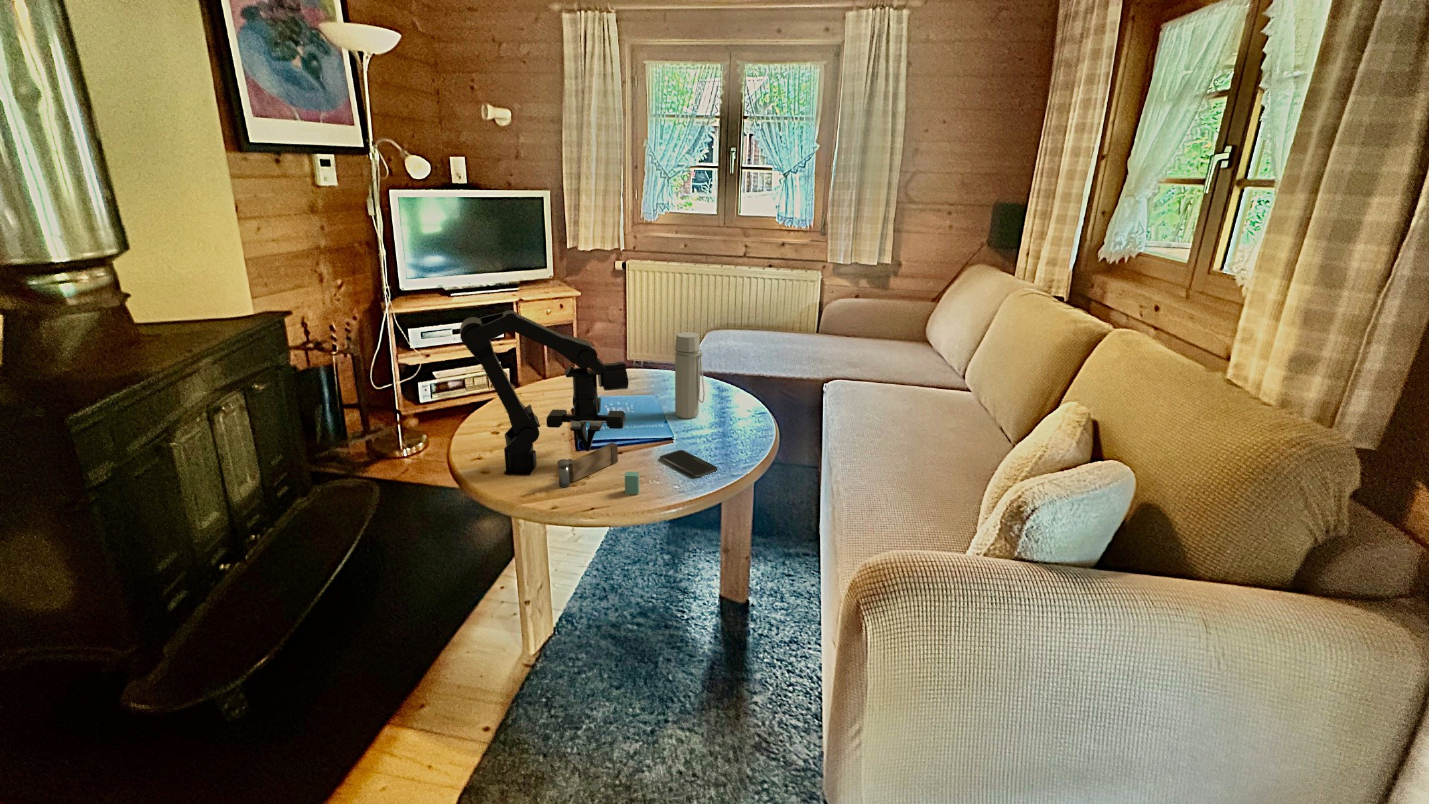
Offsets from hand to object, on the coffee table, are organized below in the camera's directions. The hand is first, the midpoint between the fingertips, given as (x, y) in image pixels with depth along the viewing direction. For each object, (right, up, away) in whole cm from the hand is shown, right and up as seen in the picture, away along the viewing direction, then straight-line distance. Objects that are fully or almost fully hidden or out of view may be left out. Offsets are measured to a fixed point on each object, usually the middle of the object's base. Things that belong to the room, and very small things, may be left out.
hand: (588, 450), depth 171 cm
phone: (+25, -4, +1) cm, 26 cm away
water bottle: (+24, +8, +33) cm, 42 cm away
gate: (+1, -5, -6) cm, 8 cm away
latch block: (+13, -9, -14) cm, 21 cm away
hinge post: (-3, -7, -12) cm, 14 cm away
